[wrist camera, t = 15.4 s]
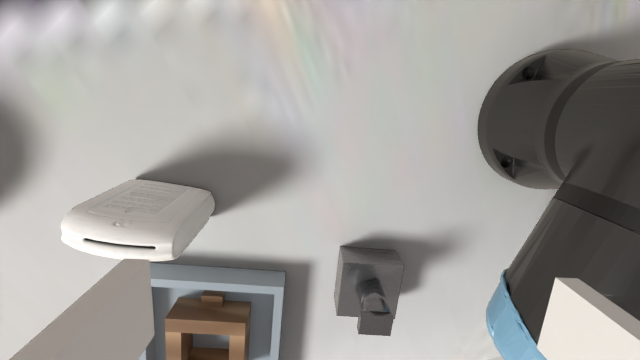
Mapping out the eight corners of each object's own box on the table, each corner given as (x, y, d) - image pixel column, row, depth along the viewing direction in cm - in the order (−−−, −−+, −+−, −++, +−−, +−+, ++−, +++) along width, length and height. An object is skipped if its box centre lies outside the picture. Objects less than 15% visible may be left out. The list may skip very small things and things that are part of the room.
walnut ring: (248, 361, 44) (242, 386, 40) (179, 357, 44) (166, 383, 40) (251, 291, 41) (246, 311, 38) (178, 286, 41) (164, 307, 37)
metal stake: (395, 250, 42) (421, 297, 32) (387, 299, 44) (409, 357, 34) (340, 246, 41) (349, 293, 32) (334, 295, 43) (341, 354, 33)
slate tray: (285, 271, 42) (283, 287, 39) (277, 380, 46) (274, 403, 43) (147, 262, 41) (133, 277, 38) (152, 374, 45) (139, 397, 42)
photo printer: (126, 209, 39) (46, 260, 27) (127, 174, 38) (44, 212, 26) (214, 222, 40) (174, 277, 28) (217, 188, 39) (177, 230, 27)
